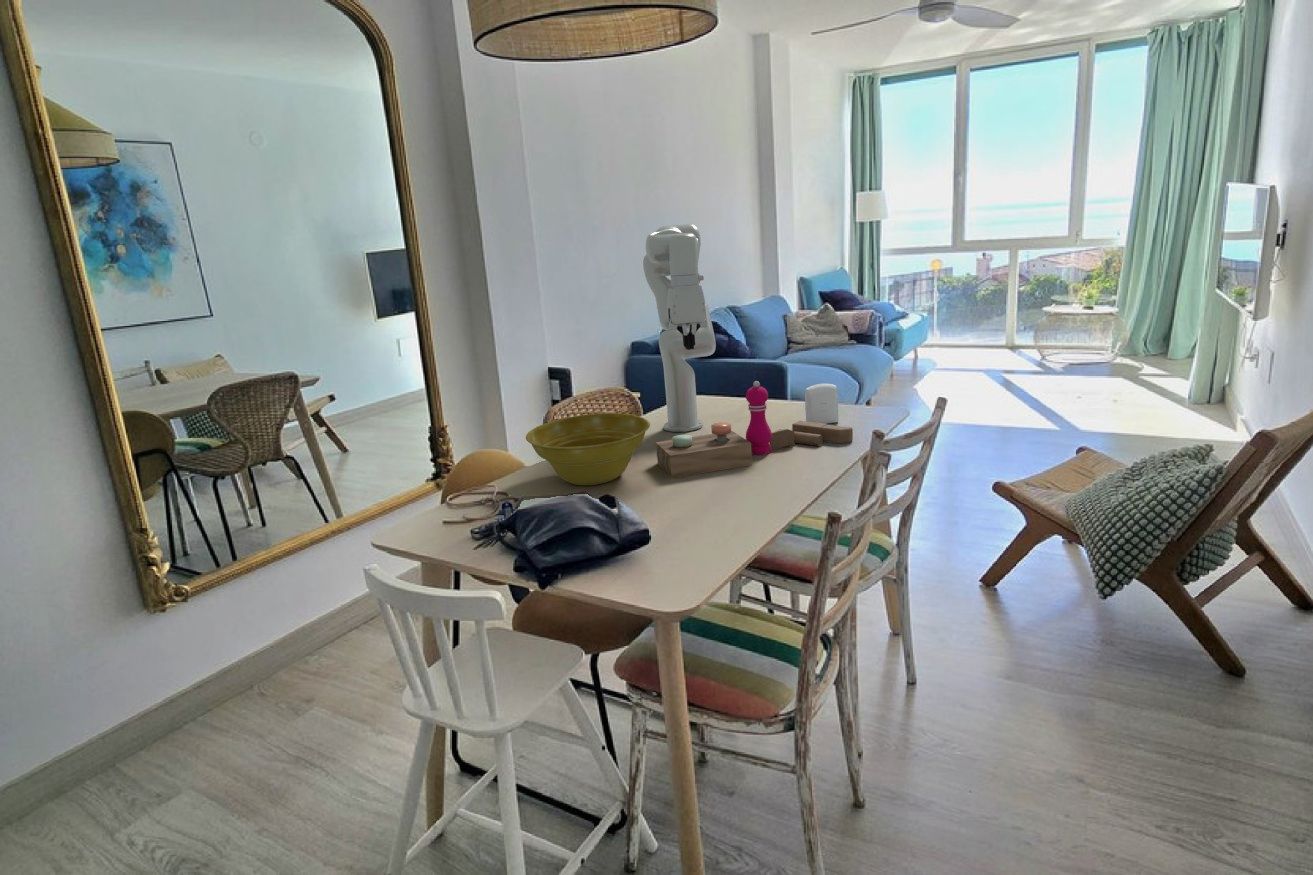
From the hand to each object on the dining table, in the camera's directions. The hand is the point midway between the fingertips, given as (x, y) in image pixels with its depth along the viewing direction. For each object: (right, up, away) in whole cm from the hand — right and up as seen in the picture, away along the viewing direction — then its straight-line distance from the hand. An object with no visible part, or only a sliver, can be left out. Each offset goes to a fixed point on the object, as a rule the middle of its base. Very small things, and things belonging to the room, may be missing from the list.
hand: (689, 348), depth 207 cm
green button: (-2, -32, -7) cm, 33 cm away
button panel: (+4, -32, -6) cm, 32 cm away
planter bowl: (-26, -35, -9) cm, 45 cm away
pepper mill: (+19, -29, +1) cm, 35 cm away
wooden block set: (+34, -27, +4) cm, 44 cm away
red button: (+9, -28, -5) cm, 30 cm away
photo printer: (+42, -20, +24) cm, 53 cm away
